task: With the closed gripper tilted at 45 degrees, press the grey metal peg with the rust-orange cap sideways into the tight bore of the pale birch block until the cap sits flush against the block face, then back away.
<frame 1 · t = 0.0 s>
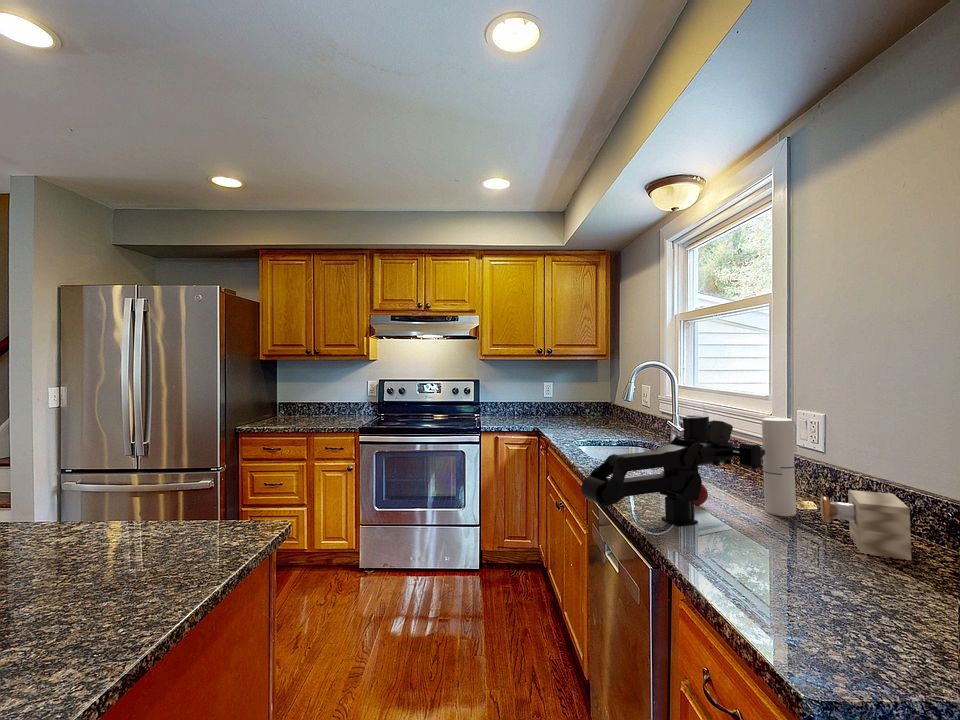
hand: (749, 449, 131), 17 cm above the worktop, tool horizontal, fingers open, 9 cm apart
onion: (696, 507, 134), on the worktop
cylindrical container: (780, 512, 127), on the worktop
peg: (847, 511, 105), point 7 cm above the worktop, slide at 0.0 cm
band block: (878, 547, 102), on the worktop
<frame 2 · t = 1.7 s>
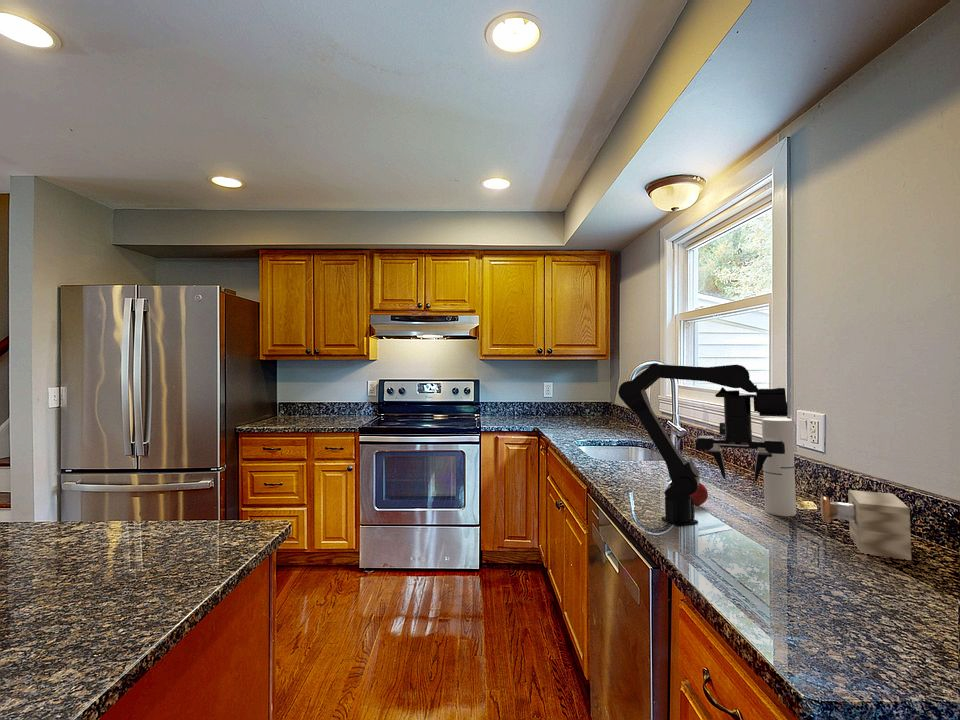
hand: (739, 479, 115), 12 cm above the worktop, tool pointing down, fingers open, 6 cm apart
nothing on the worktop moved.
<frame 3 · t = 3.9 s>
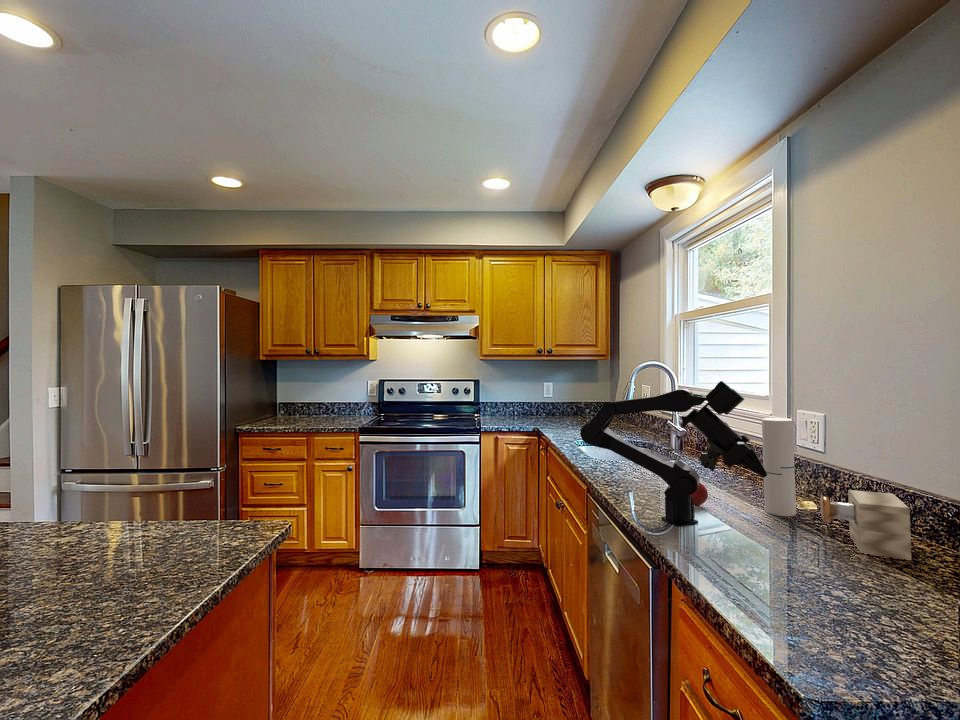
hand: (765, 476, 112), 13 cm above the worktop, tool tilted 45°, fingers closed
nothing on the worktop moved.
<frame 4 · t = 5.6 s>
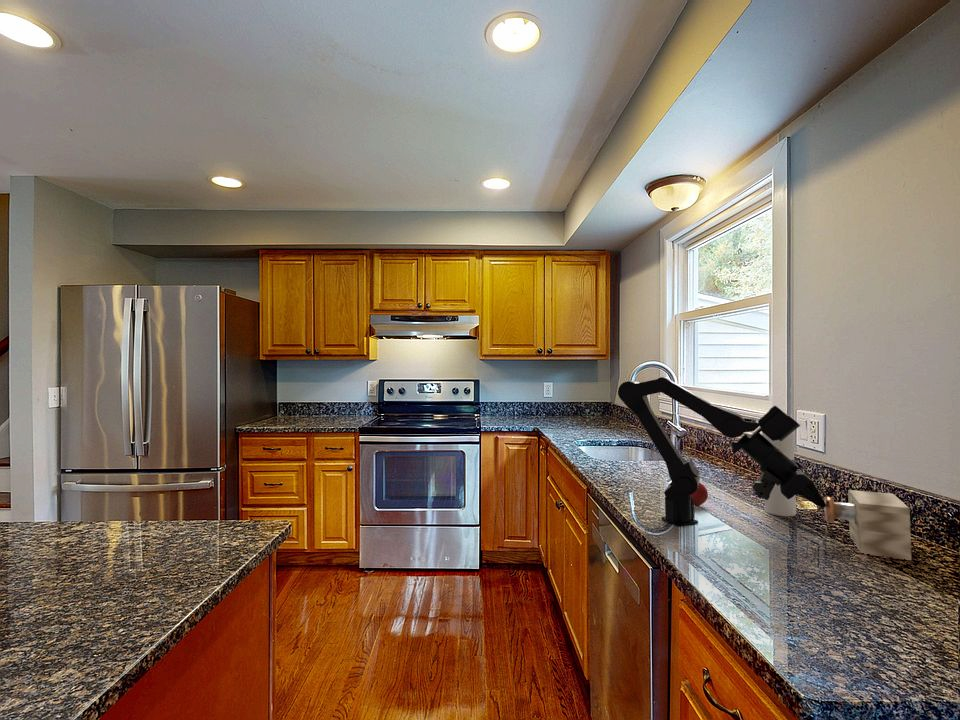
hand: (824, 506, 107), 8 cm above the worktop, tool tilted 45°, fingers closed, pressing on peg
peg: (851, 511, 104), point 7 cm above the worktop, slide at 0.7 cm, touching gripper
everything else where it was.
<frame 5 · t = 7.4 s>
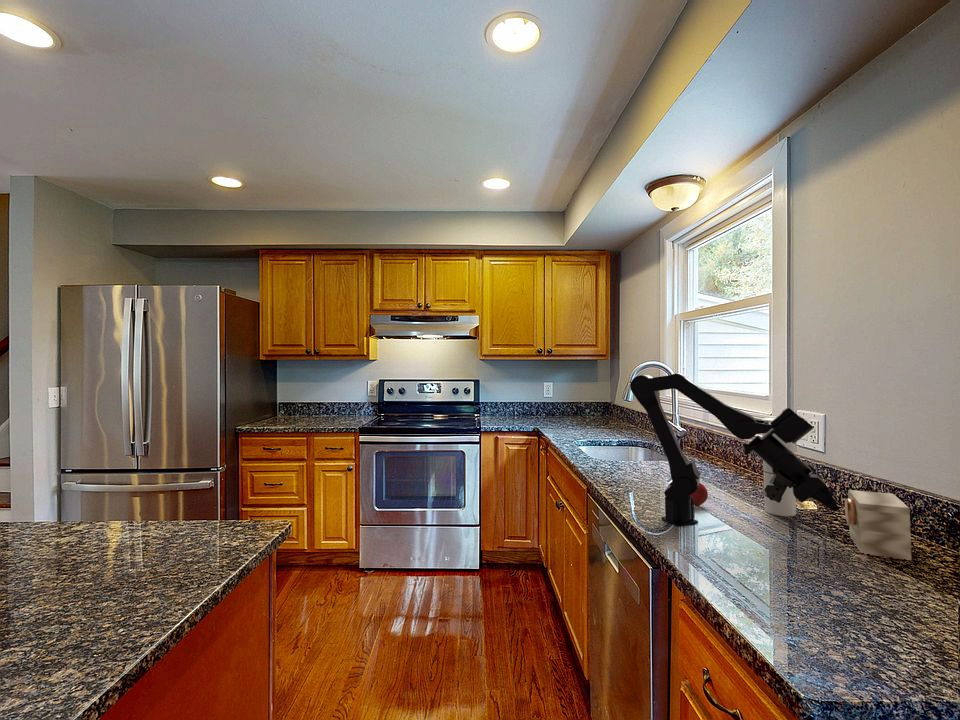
hand: (837, 510, 106), 7 cm above the worktop, tool tilted 45°, fingers closed
peg: (873, 514, 102), point 7 cm above the worktop, slide at 4.5 cm, touching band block
everything else where it was.
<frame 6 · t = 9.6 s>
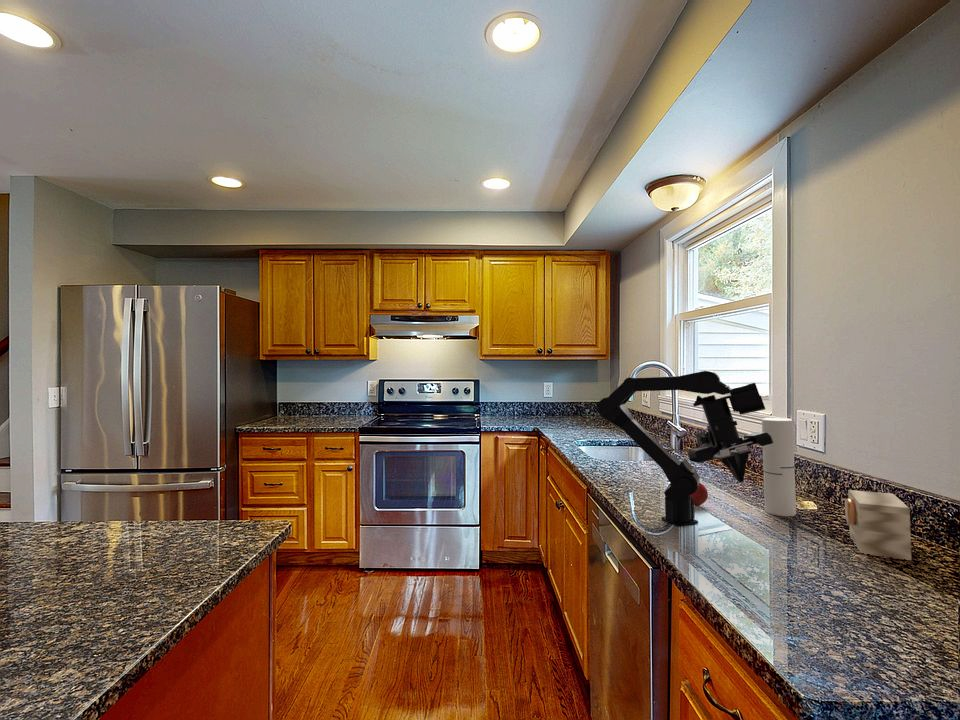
hand: (740, 481, 115), 12 cm above the worktop, tool tilted 15°, fingers closed
nothing on the worktop moved.
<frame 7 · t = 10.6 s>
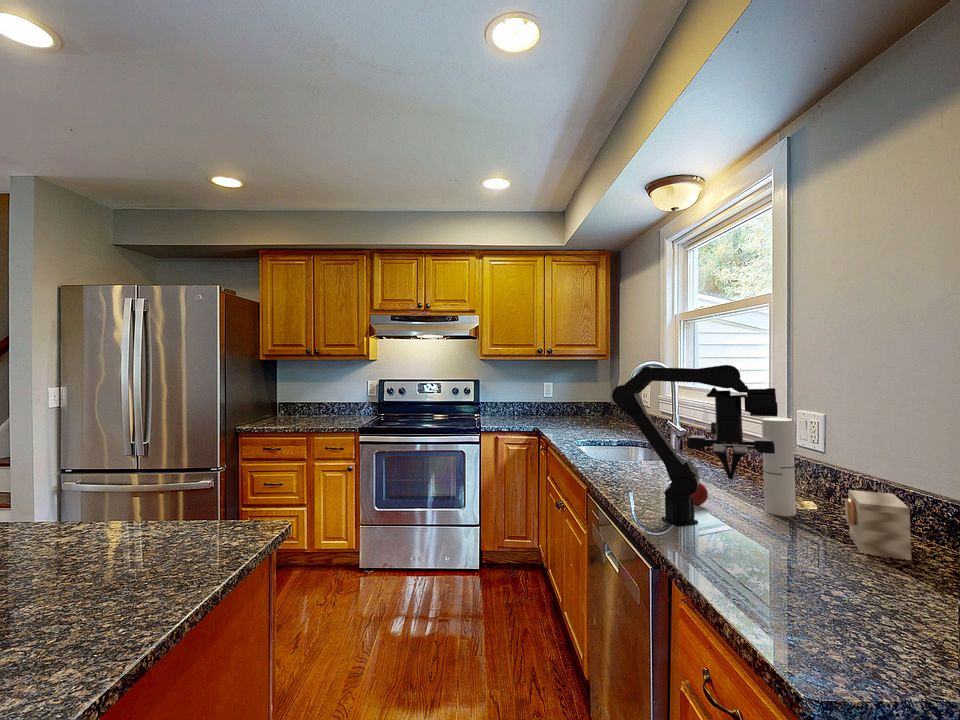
hand: (730, 479, 116), 12 cm above the worktop, tool pointing down, fingers closed
nothing on the worktop moved.
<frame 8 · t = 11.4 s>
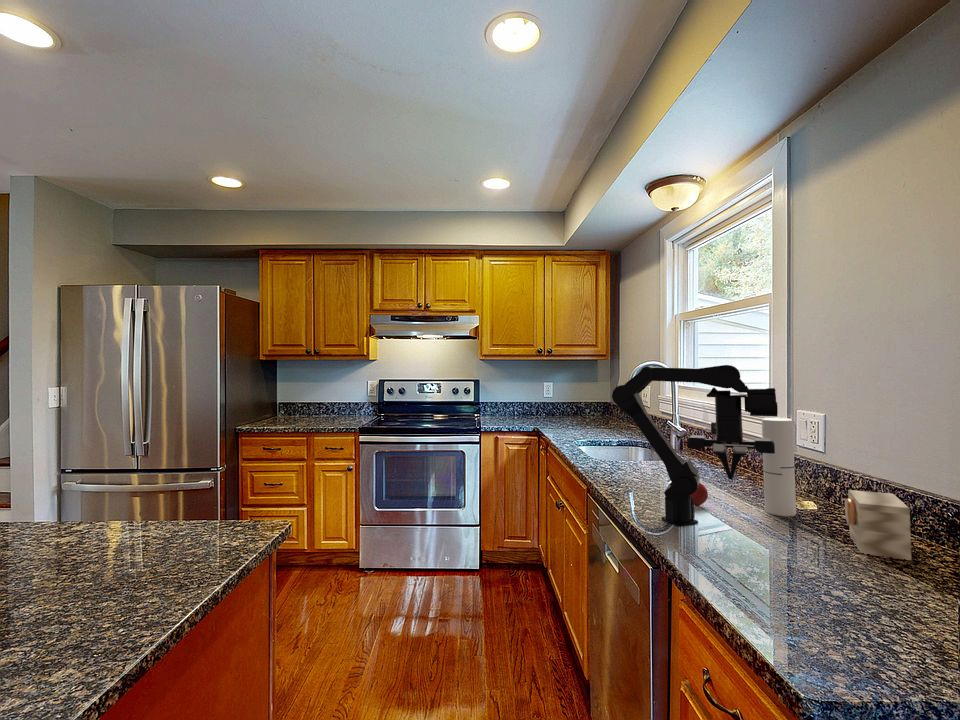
hand: (730, 479, 116), 12 cm above the worktop, tool pointing down, fingers closed
nothing on the worktop moved.
at the end: peg slide at 4.5 cm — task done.
